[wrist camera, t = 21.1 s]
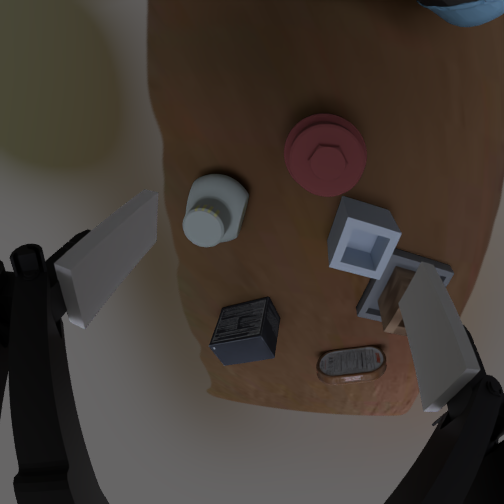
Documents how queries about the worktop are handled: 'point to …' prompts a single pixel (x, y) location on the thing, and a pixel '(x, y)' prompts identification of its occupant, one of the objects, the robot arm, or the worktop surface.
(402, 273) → the brown open cube box
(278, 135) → the worktop surface
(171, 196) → the worktop surface
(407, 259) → the tray
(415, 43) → the worktop surface
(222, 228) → the air freshener
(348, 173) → the mechanical component
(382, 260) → the block
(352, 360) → the tin
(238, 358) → the small box
